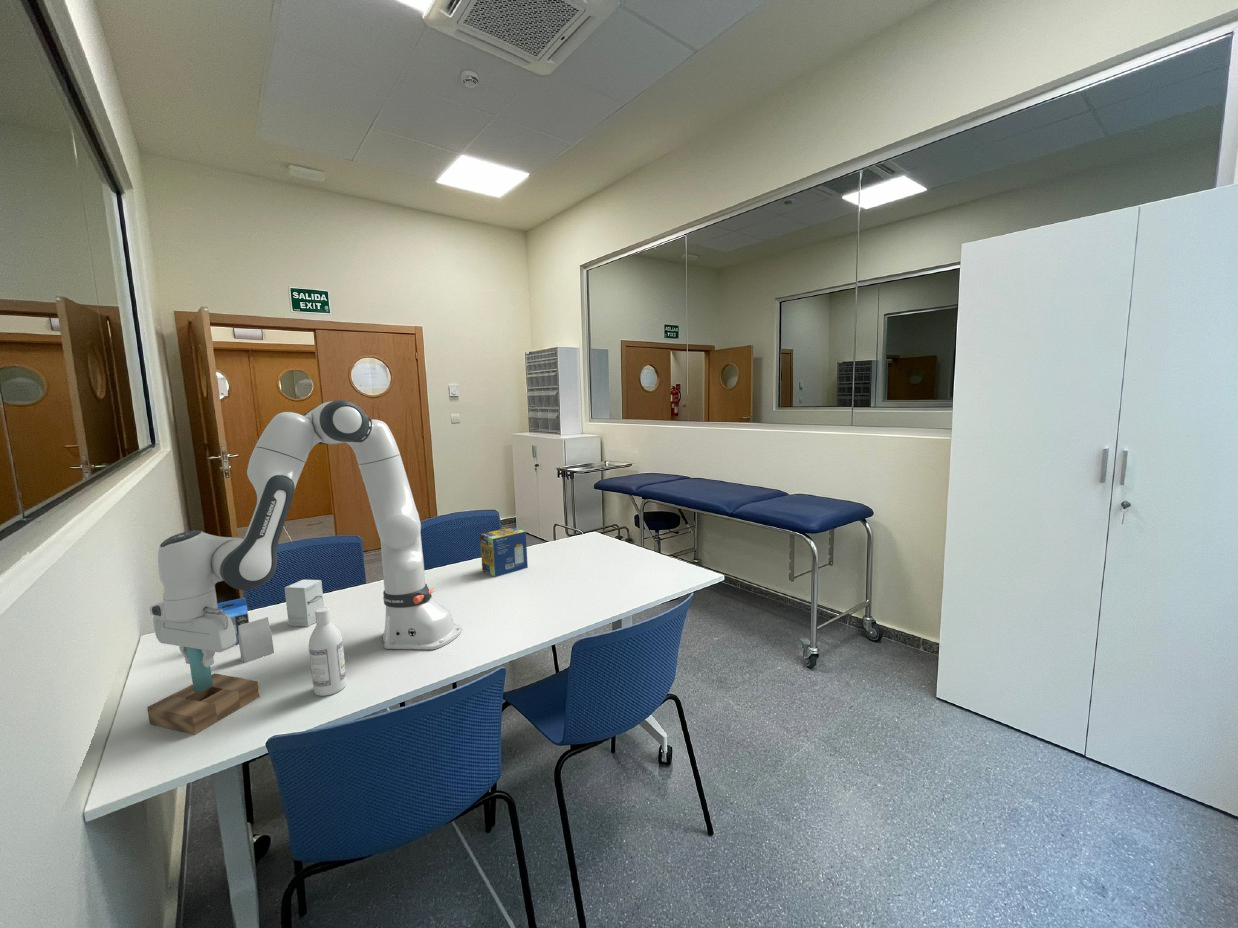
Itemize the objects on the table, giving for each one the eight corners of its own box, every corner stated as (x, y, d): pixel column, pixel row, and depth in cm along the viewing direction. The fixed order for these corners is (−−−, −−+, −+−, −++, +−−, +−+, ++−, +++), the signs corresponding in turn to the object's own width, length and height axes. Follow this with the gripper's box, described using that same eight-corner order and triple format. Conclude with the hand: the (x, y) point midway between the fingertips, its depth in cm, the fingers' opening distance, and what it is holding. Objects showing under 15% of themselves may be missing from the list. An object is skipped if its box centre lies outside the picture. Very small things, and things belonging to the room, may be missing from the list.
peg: (216, 684, 116) (209, 634, 114) (200, 692, 112) (193, 641, 111) (206, 682, 117) (198, 633, 115) (189, 690, 113) (182, 639, 112)
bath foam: (340, 677, 127) (331, 601, 125) (352, 686, 123) (343, 607, 120) (309, 690, 122) (300, 610, 119) (320, 700, 117) (311, 618, 115)
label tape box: (213, 650, 144) (207, 609, 142) (213, 645, 147) (207, 605, 145) (251, 640, 149) (246, 600, 148) (250, 636, 152) (245, 596, 151)
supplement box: (308, 627, 157) (303, 588, 156) (287, 625, 159) (283, 587, 157) (326, 617, 164) (322, 579, 163) (306, 615, 166) (302, 578, 164)
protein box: (481, 571, 204) (479, 533, 202) (515, 562, 214) (512, 526, 212) (494, 577, 196) (492, 538, 194) (528, 567, 207) (526, 530, 205)
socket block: (259, 696, 120) (257, 680, 119) (195, 734, 107) (192, 716, 106) (216, 688, 124) (214, 673, 123) (149, 723, 111) (147, 706, 110)
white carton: (274, 653, 141) (269, 618, 140) (244, 663, 136) (239, 627, 135) (270, 649, 144) (265, 615, 142) (241, 658, 139) (236, 624, 137)
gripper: (240, 603, 112) (248, 662, 114) (175, 596, 118) (184, 652, 120) (210, 615, 106) (218, 677, 108) (143, 606, 112) (153, 665, 114)
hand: (200, 664), depth 114 cm, fingers closed on peg, 3 cm apart
